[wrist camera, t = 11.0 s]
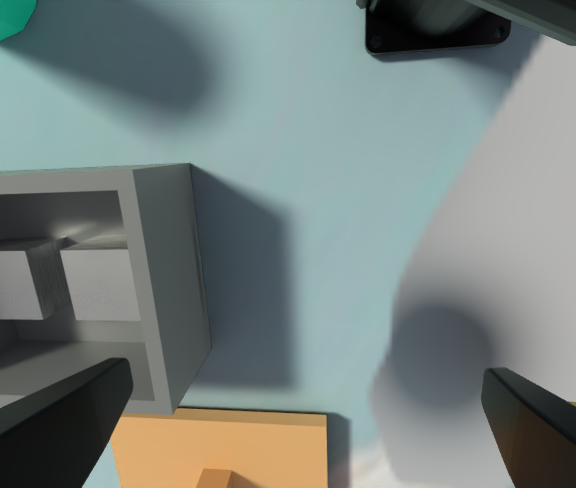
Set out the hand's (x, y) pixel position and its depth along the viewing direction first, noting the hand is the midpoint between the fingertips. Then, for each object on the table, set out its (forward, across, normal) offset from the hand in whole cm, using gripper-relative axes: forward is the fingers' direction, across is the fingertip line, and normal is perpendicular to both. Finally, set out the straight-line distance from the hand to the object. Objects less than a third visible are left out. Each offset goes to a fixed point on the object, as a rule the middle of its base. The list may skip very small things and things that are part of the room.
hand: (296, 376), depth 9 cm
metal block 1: (+11, +17, +1) cm, 20 cm away
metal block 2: (+11, +11, +1) cm, 16 cm away
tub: (+12, +14, +1) cm, 18 cm away
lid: (+12, +7, +18) cm, 23 cm away
